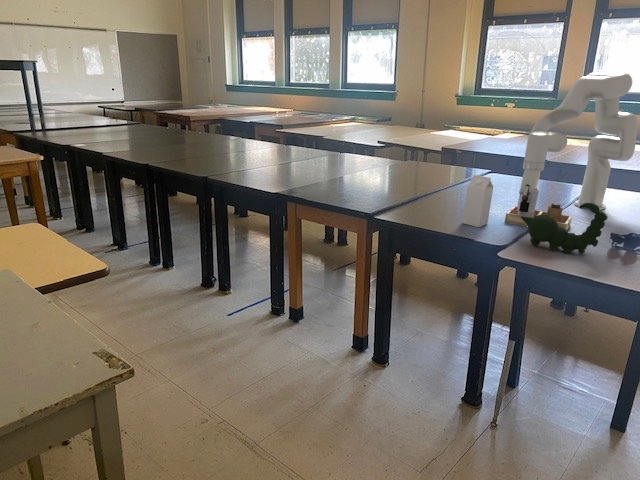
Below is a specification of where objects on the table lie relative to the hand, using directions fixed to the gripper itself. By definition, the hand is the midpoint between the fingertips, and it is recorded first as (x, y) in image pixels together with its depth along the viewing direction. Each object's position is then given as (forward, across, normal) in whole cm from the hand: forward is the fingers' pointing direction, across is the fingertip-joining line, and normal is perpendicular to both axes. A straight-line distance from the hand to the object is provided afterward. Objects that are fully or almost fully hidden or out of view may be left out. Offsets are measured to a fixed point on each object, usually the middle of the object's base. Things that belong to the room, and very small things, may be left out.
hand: (525, 209), depth 192 cm
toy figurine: (+5, +26, +16) cm, 31 cm away
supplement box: (+3, 0, 0) cm, 3 cm away
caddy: (+5, 0, +5) cm, 7 cm away
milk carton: (+5, +16, -15) cm, 23 cm away
